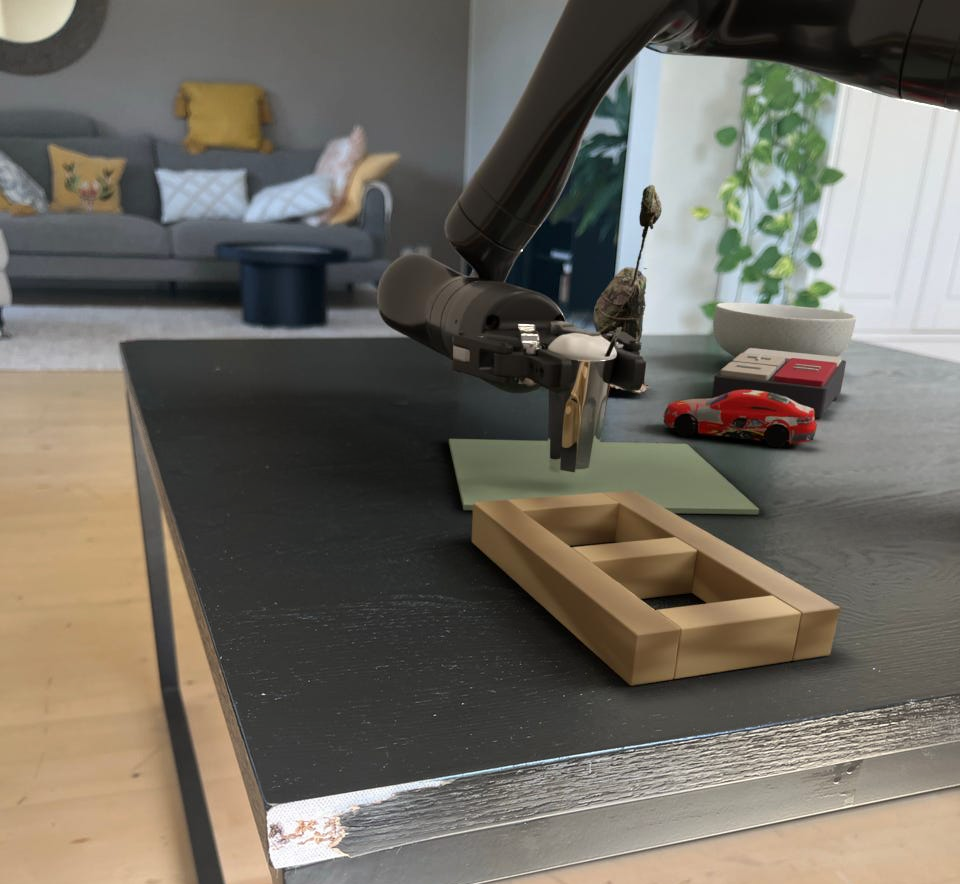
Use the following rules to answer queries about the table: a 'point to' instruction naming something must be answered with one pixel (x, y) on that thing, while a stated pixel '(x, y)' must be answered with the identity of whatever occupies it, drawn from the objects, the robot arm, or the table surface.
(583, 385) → the milkshake
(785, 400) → the race car
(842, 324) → the cereal bowl
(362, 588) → the table surface
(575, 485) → the mat
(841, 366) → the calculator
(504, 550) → the frame
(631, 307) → the plant with pod
